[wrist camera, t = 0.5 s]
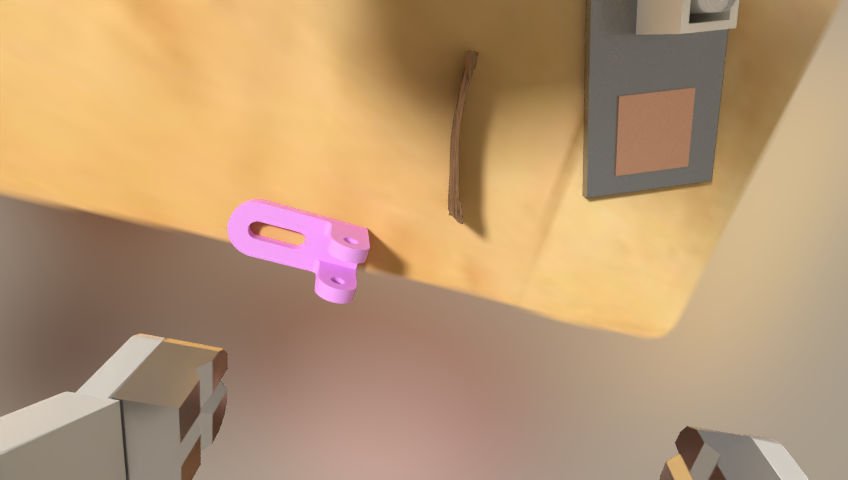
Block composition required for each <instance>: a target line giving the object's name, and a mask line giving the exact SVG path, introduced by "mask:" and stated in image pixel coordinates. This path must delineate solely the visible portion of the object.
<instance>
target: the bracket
mask: <svg viewBox="0 0 848 480" xmlns="http://www.w3.org/2000/svg"><path fill="white" fill-rule="evenodd" d="M256 221H259V222H263V223H266V224H270V225H274V226H278V227H281V228H285V229H289V230H293V231H296V232H300V233H302V234H303V235H304V236H305V239H306V240H305V242H304V243H302V244H300V245H294V244H290V243H286V242H283V241H279V240H275V239H271V238H267V237H264V236H260V235H256V234H254V233H253V232H252V231H251V229H250V224H251V223H252V222H256ZM227 230H228V236H229V239H230V241H231V242H232V244H233V245H234V246H235V247H236V248H237V249H238V250H239V251H240V252H242V253H244V254H246V255H249V256H252V257H256V258H260V259H264V260H268V261H272V262H276V263H280V264H284V265H288V266H292V267H296V268H300V269H304V270H308V271H311V272H314V273H315V274H316V281H315V292H316V293H317V294H318V295H319V296H320V297H321V298H323V299H325V300H328V301H330V302H334V303H341V304H343V303H349V302H351V301H352V299H353V296H354V293H355V290H356V287H357V279H356V268H357V265H358V264H360V263H364V262H365V261H366V258H367V255H368V252H369V249H370V242H369V235H368V228H364V227H360V226H357V225H353V224H350V223H346V222H342V221H339V220H335V219H332V218H328V217H325V216H321V215H317V214H314V213H310V212H307V211H303V210H299V209H296V208H292V207H289V206H285V205H281V204H278V203H274V202H271V201H267V200H262V199H253V200H249V201H246V202H244V203H242V204H240V205H239V206H238V207H237V208H236V209H235V210H234V212H233V213H232V215H231V217H230V219H229V221H228V227H227Z"/></svg>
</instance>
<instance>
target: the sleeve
mask: <svg viewBox="0 0 848 480" xmlns="http://www.w3.org/2000/svg"><path fill="white" fill-rule="evenodd" d="M690 3H691V0H638V1H637V20H636V35H648V34H685V33H695V32H704V31H714V30H723V29H733V28H736V26H737V17H738V9H739V0H736V1H735V3H734V5H733V6H732V7H731V8H730V9H729V10H727V11H724V12H713V13H698V14H690Z"/></svg>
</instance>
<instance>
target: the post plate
mask: <svg viewBox="0 0 848 480" xmlns="http://www.w3.org/2000/svg"><path fill="white" fill-rule="evenodd" d="M637 1H638V0H586V49H585V100H584V152H583V196H585V197H586V198H590V197H597V196H604V195H612V194H619V193H626V192H633V191H641V190H648V189H655V188H663V187H670V186H677V185H684V184H692V183H699V182H706V181H711V180H712V171H713V162H714V153H715V144H716V135H717V127H718V118H719V109H720V100H721V91H722V82H723V73H724V64H725V55H726V46H727V37H728V29H723V30H714V31H704V32H695V33H685V34H648V35H636V20H637ZM735 1H736V0H691V3H690V14H698V13H713V12H724V11H727V10H729V9H730V8H731V7H732V6H733V5H734V3H735Z"/></svg>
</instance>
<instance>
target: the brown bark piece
mask: <svg viewBox="0 0 848 480" xmlns="http://www.w3.org/2000/svg"><path fill="white" fill-rule="evenodd" d="M477 57H478V52H473V51H466V61H465V68H464V72H463V76H462V82H461V87H460V91H459V95H458V101H457V105H456V110H455V114H454V120H453V127H452V134H451V147H450V178H449V194H448V210H449V215H451V216H453V217H454V218H455V219H456V221H457V222H459V223H461V224H463V219H462V217H463V216H462V208H461V207H462V206H461V202H460V198H459V133H460V123H461V117H462V113H463V107H464V102H465V98H466V94H467V90H468V87H469V84H470V81H471V76H472V73H473V71H474V69H475V67H476V63H477Z"/></svg>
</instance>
